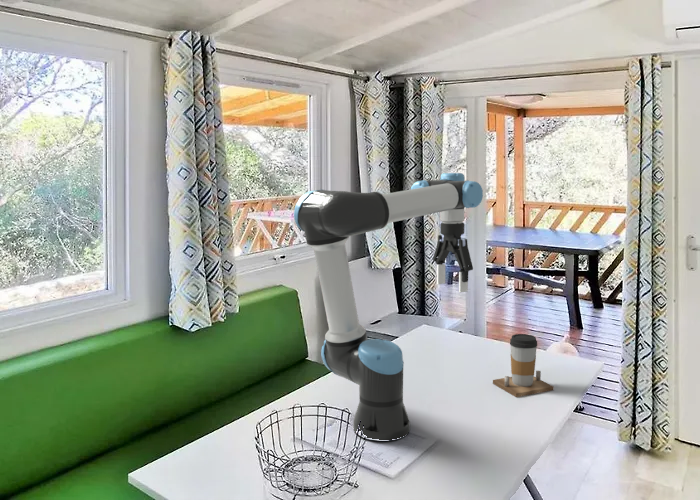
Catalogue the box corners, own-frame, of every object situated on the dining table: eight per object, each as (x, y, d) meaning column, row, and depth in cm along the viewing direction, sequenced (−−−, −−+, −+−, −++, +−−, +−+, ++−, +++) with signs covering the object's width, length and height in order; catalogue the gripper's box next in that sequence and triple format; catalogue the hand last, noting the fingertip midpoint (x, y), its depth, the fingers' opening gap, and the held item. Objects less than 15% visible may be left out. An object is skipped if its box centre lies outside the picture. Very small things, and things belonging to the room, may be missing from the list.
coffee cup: (537, 388, 176) (539, 341, 174) (509, 387, 178) (510, 340, 176) (534, 379, 184) (536, 333, 182) (507, 377, 186) (508, 332, 184)
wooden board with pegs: (516, 397, 173) (516, 384, 172) (492, 383, 184) (492, 371, 184) (553, 390, 178) (553, 377, 177) (528, 377, 189) (528, 364, 188)
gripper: (485, 224, 171) (484, 294, 174) (442, 218, 194) (442, 279, 197) (463, 226, 168) (462, 296, 171) (423, 219, 191) (423, 281, 195)
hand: (451, 287), depth 184 cm, fingers open, 13 cm apart
